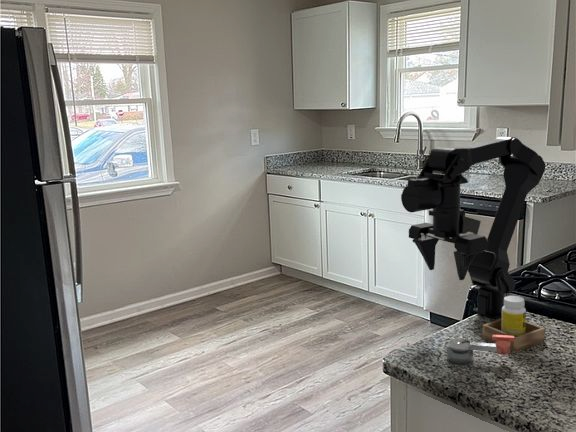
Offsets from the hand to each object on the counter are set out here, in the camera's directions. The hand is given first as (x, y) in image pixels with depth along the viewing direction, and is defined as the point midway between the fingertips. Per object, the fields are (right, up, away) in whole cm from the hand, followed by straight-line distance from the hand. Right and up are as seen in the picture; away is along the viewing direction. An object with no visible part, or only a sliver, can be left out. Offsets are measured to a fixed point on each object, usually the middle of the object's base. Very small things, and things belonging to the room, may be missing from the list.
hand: (446, 274), depth 125 cm
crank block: (-1, -16, -13) cm, 20 cm away
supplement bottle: (+13, -13, -6) cm, 19 cm away
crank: (+3, -13, -14) cm, 20 cm away
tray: (+13, -13, -6) cm, 19 cm away
